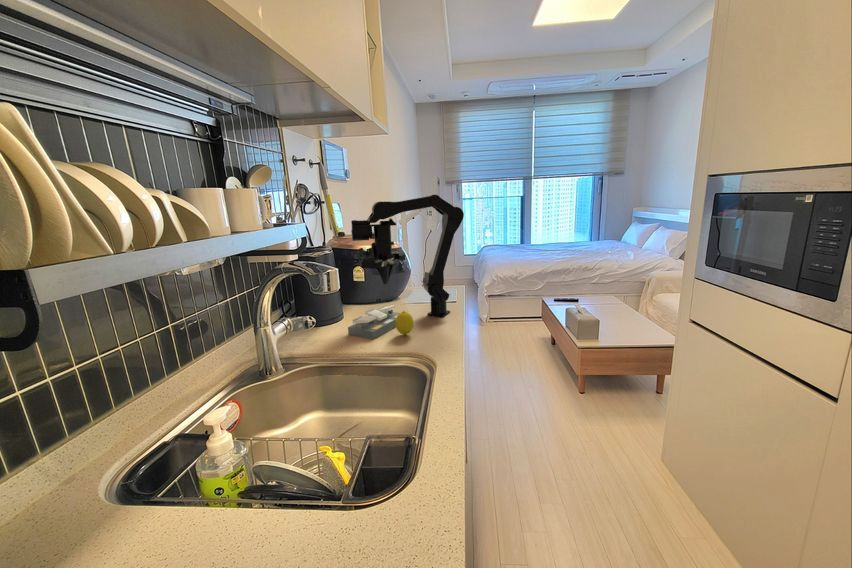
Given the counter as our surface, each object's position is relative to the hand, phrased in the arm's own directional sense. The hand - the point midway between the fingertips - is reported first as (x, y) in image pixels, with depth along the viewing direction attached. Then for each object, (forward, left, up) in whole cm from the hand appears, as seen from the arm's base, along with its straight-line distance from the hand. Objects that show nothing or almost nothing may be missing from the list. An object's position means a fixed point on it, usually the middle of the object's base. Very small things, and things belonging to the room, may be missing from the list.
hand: (385, 284), depth 127 cm
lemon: (+10, +14, -13) cm, 22 cm away
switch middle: (+8, +1, -9) cm, 12 cm away
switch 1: (+14, +1, -9) cm, 17 cm away
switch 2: (+2, +1, -9) cm, 9 cm away
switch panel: (+8, +2, -13) cm, 15 cm away
